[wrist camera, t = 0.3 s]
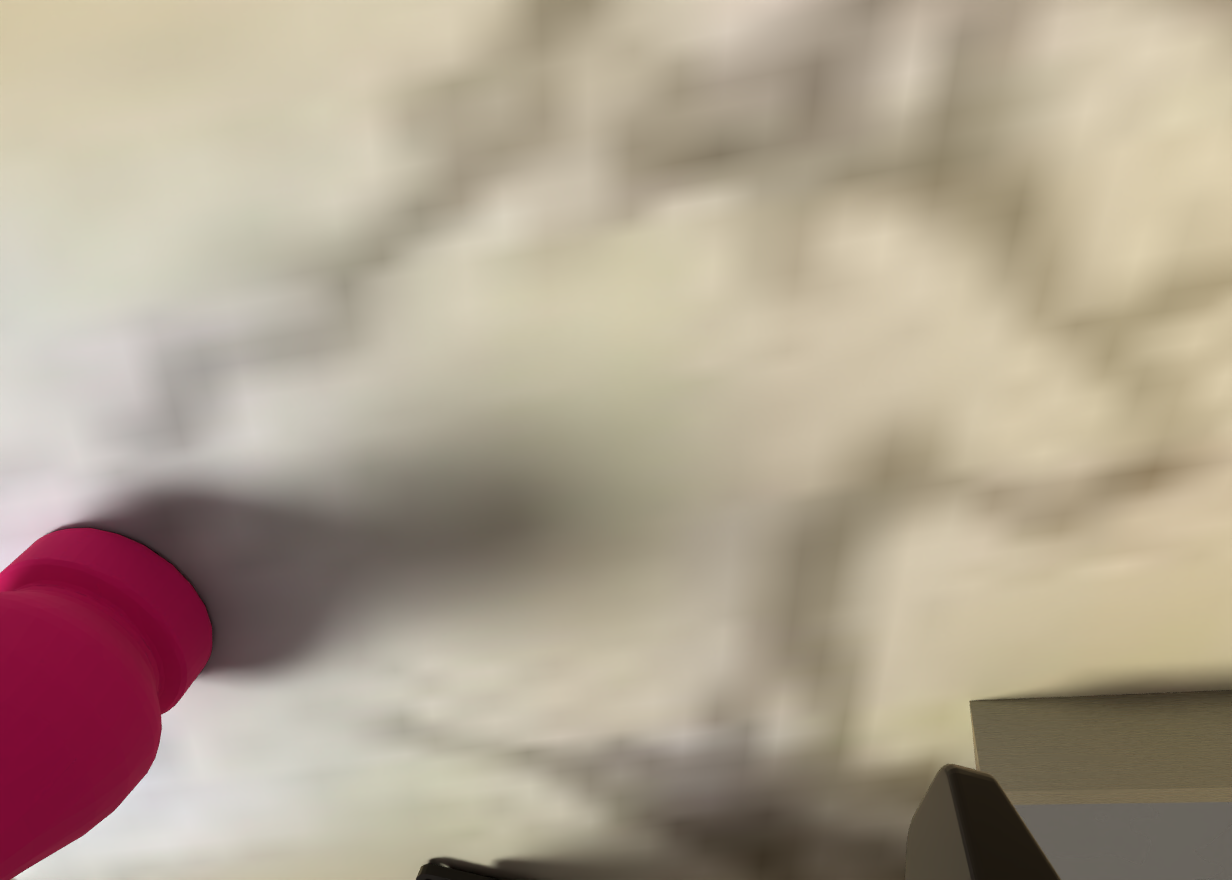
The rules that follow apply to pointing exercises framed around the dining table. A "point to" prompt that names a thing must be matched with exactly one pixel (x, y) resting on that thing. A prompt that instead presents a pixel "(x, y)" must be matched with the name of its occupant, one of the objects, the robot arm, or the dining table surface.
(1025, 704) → the slate tin
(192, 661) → the pepper mill
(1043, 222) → the dining table surface
